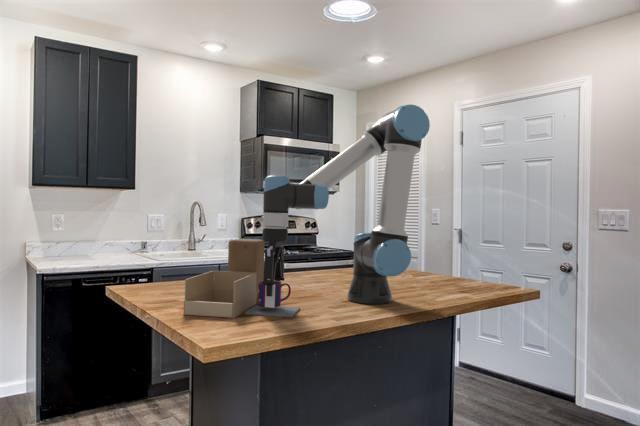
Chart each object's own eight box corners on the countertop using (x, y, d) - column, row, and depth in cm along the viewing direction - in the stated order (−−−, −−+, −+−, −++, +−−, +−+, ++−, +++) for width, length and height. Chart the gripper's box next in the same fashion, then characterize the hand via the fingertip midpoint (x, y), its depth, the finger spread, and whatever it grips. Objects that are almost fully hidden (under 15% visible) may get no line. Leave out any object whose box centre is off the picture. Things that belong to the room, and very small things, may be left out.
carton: (256, 303, 150) (257, 272, 150) (233, 318, 129) (234, 282, 129) (212, 300, 153) (213, 270, 153) (183, 314, 132) (183, 279, 132)
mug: (256, 303, 141) (256, 281, 141) (288, 302, 144) (288, 280, 144) (259, 308, 134) (260, 284, 134) (293, 306, 137) (293, 283, 137)
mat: (300, 309, 143) (300, 307, 143) (292, 317, 132) (292, 315, 132) (256, 306, 145) (256, 304, 145) (244, 314, 134) (244, 312, 134)
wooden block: (254, 301, 154) (255, 241, 154) (226, 299, 156) (227, 240, 156) (264, 296, 164) (265, 239, 164) (237, 294, 166) (238, 238, 166)
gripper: (272, 226, 149) (270, 297, 149) (253, 228, 129) (250, 310, 129) (294, 227, 148) (292, 299, 148) (279, 229, 128) (276, 312, 128)
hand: (273, 304), depth 138 cm, fingers closed on mug, 7 cm apart
